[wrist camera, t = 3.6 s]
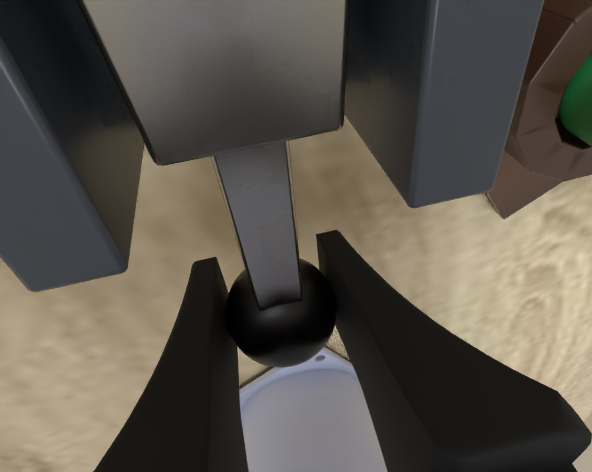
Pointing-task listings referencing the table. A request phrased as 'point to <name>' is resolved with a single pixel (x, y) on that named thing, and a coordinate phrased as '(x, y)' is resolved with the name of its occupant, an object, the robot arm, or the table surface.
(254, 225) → the switch lever
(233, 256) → the table surface
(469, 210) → the table surface
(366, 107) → the switch bracket
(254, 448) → the robot arm
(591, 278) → the table surface
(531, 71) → the button block
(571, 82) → the light button
